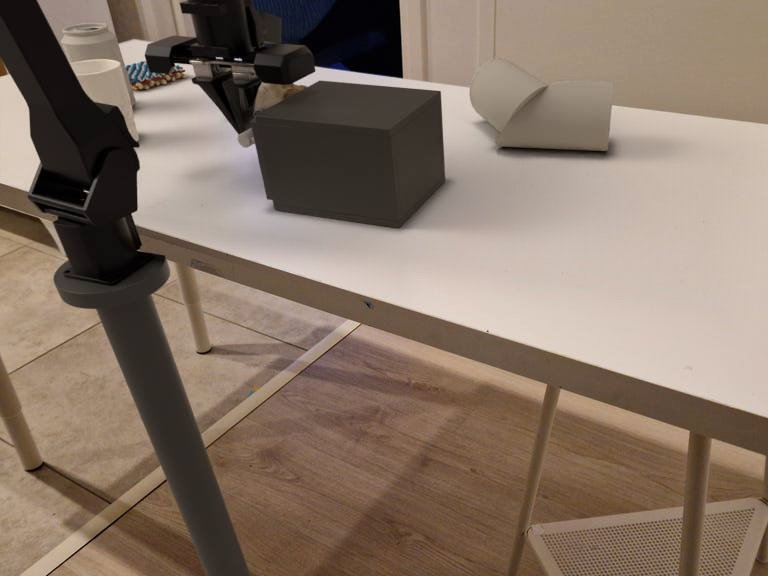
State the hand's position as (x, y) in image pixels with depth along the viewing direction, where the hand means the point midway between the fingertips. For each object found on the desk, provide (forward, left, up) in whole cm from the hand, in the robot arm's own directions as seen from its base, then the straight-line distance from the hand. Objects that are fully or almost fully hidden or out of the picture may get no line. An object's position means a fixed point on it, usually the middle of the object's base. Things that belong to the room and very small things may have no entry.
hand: (245, 136), depth 84 cm
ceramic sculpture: (+25, +14, -6) cm, 29 cm away
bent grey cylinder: (+25, -29, -6) cm, 39 cm away
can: (+18, +38, -6) cm, 43 cm away
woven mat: (+33, +44, -6) cm, 55 cm away
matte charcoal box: (0, -15, -6) cm, 16 cm away
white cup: (+6, +27, -6) cm, 28 cm away
